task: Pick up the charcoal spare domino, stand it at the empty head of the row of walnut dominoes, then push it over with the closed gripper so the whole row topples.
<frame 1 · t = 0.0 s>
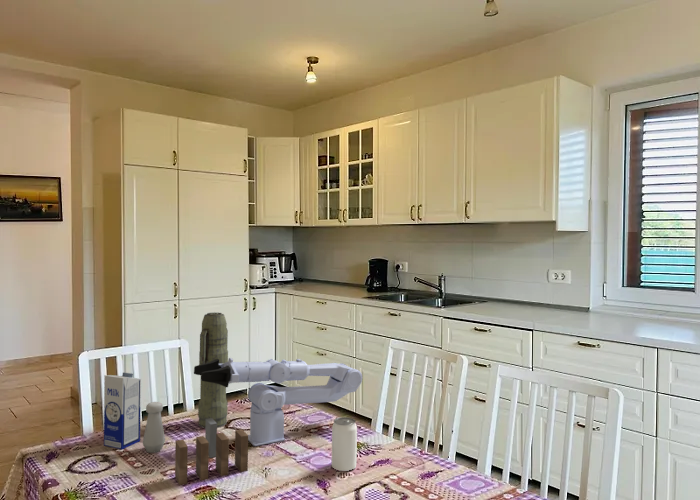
hand: (197, 373, 140), 22 cm above the table, tool horizontal, fingers open, 7 cm apart
domino 5: (181, 480, 124), on the table
domino 3: (221, 471, 129), on the table
milk carton: (122, 444, 146), on the table
can: (343, 467, 133), on the table
salt shaker: (153, 450, 141), on the table
domino 2: (241, 467, 131), on the table
domino 4: (201, 476, 126), on the table
spare domino: (210, 454, 139), on the table
thermos: (212, 424, 163), on the table
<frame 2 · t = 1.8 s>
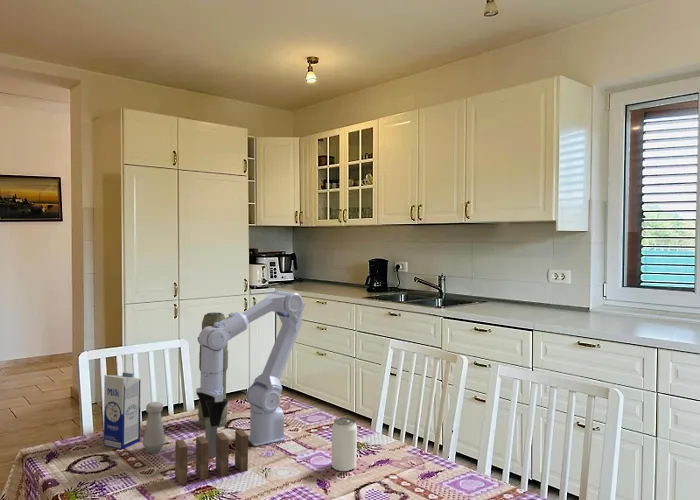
hand: (211, 421, 139), 9 cm above the table, tool pointing down, fingers open, 7 cm apart
nothing on the table moved.
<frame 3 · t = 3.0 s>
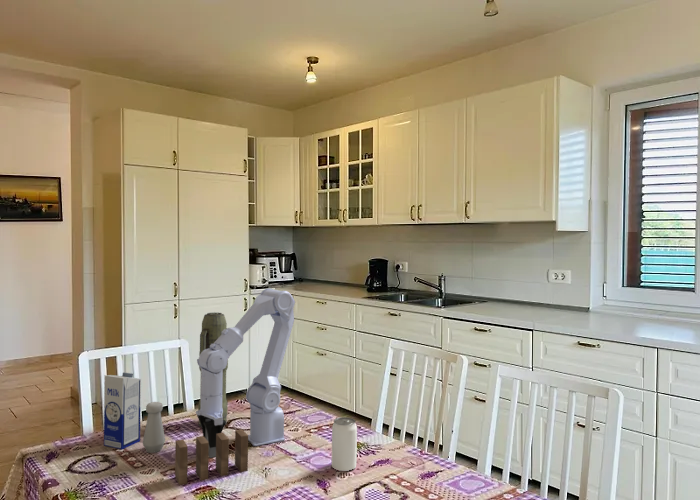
hand: (210, 443, 139), 3 cm above the table, tool pointing down, fingers closed on spare domino, 5 cm apart
spare domino: (210, 454, 139), on the table, touching gripper
everything else where it was.
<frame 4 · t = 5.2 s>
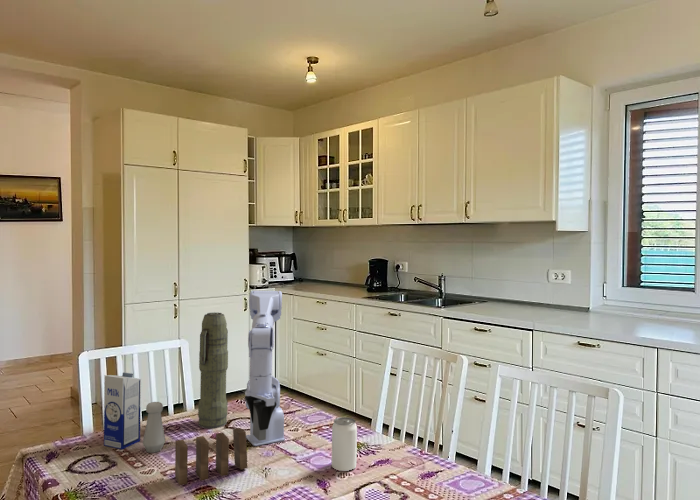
hand: (259, 425, 134), 10 cm above the table, tool pointing down, fingers closed on spare domino, 5 cm apart
domino 2: (241, 466, 131), on the table, tilted 7°
spare domino: (259, 436, 134), point 7 cm above the table, touching gripper
everything else where it was.
when the fingers open (4 cm above the table, at t = 7.1 s): spare domino drops 1 cm, on the table.
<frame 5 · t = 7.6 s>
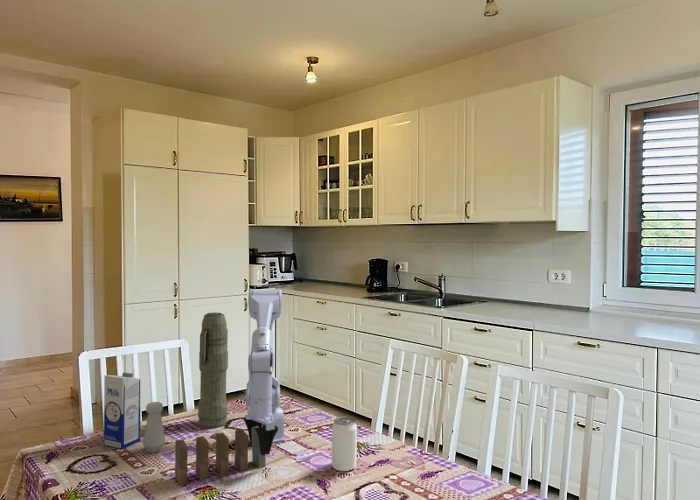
hand: (259, 448, 134), 4 cm above the table, tool pointing down, fingers open, 7 cm apart
domino 2: (241, 467, 131), on the table
spare domino: (259, 463, 134), on the table
everything else where it was.
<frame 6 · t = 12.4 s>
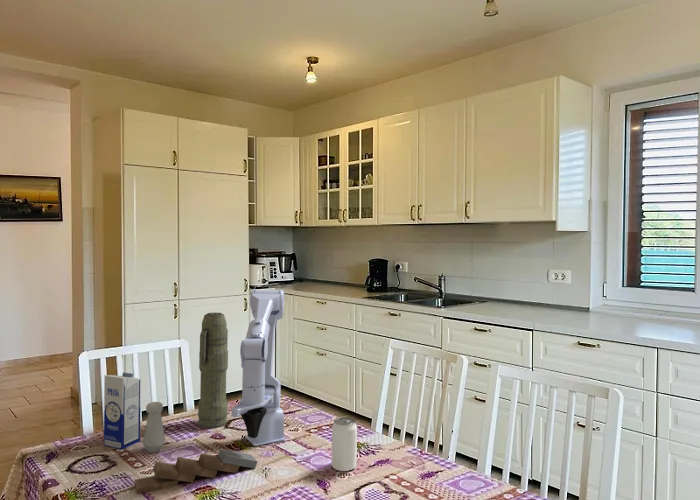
hand: (252, 436, 133), 7 cm above the table, tool pointing down, fingers closed
domino 5: (175, 479, 123), on the table, tilted 90°, touching domino 4
domino 3: (213, 470, 128), point 1 cm above the table, tilted 69°, touching domino 2, domino 4
domino 2: (235, 465, 131), point 1 cm above the table, tilted 70°, touching domino 3, spare domino
domino 4: (192, 474, 125), point 1 cm above the table, tilted 71°, touching domino 3, domino 5
spare domino: (253, 461, 133), point 1 cm above the table, tilted 69°, touching domino 2
everything else where it was.
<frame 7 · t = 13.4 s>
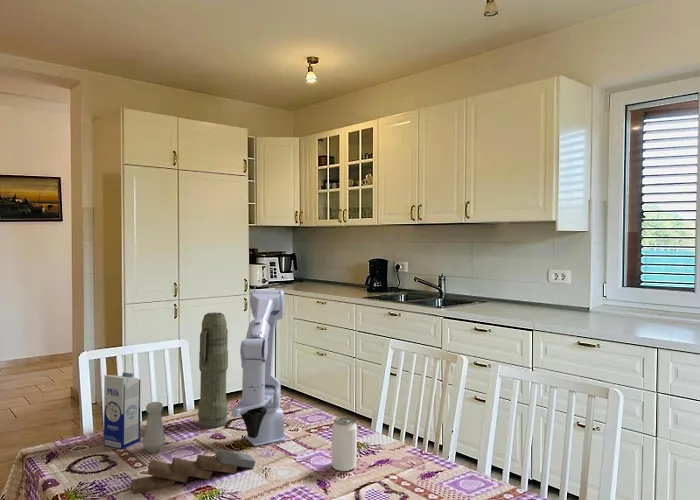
hand: (252, 436, 133), 7 cm above the table, tool pointing down, fingers closed
domino 3: (209, 472, 127), point 1 cm above the table, tilted 69°, touching domino 2
domino 4: (186, 475, 125), point 1 cm above the table, tilted 69°, touching domino 5
spare domino: (251, 461, 133), point 1 cm above the table, tilted 69°, touching domino 2
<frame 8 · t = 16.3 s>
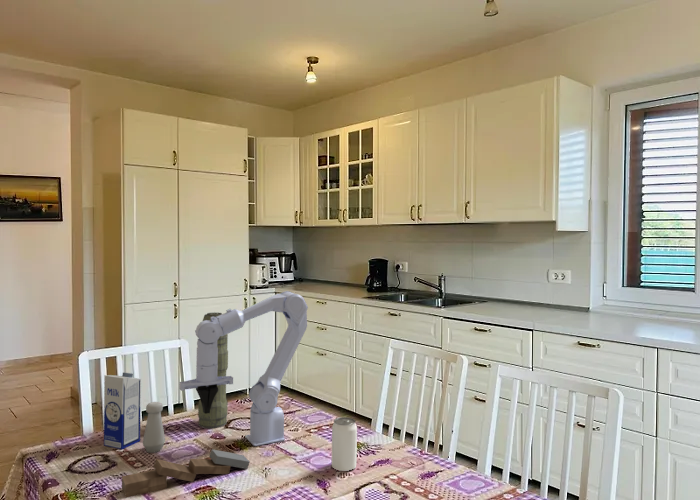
hand: (206, 412, 144), 10 cm above the table, tool pointing down, fingers closed
domino 5: (164, 482, 122), on the table, tilted 90°, touching domino 4
domino 3: (191, 474, 125), point 1 cm above the table, tilted 65°, touching domino 2, domino 4
domino 2: (226, 466, 130), point 1 cm above the table, tilted 77°, touching domino 3, spare domino
domino 4: (164, 475, 122), point 2 cm above the table, tilted 90°, touching domino 3, domino 5
spare domino: (245, 461, 133), point 1 cm above the table, tilted 70°, touching domino 2
everything else where it was.
at the end: domino 5 tilted 90°; spare domino tilted 70°; spare domino inside the target area (2.3 cm from its centre), point 0.8 cm above the table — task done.
